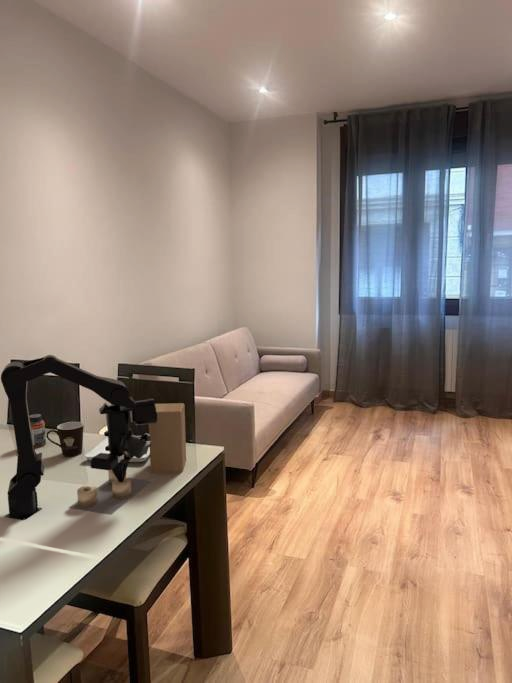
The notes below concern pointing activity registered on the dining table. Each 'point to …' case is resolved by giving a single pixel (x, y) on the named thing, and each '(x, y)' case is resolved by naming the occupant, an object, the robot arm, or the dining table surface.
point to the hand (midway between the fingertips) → (121, 481)
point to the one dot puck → (87, 496)
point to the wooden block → (168, 439)
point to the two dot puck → (112, 476)
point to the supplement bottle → (37, 430)
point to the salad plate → (101, 449)
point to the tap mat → (106, 497)
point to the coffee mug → (69, 438)
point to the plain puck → (121, 488)
